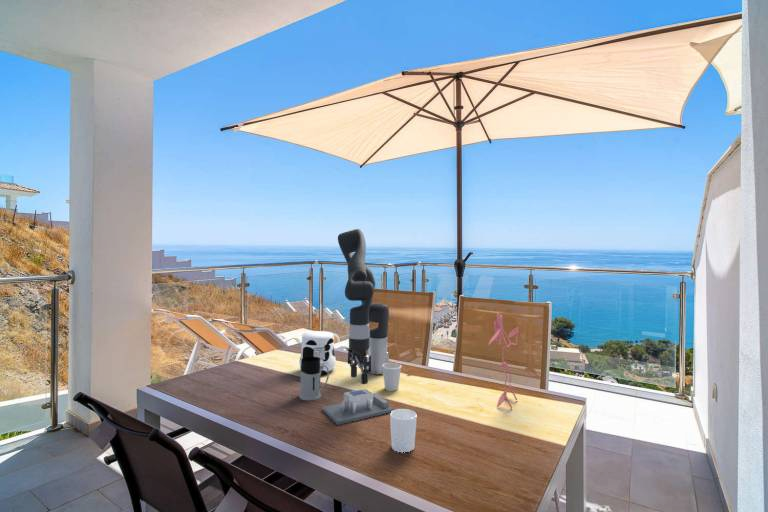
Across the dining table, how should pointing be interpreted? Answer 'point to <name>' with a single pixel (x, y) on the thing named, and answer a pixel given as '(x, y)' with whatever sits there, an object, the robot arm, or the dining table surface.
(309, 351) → the milk container
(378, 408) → the grey tapered peg board
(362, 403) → the block
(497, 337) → the figurine
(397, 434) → the white cup
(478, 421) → the dining table surface
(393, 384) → the dixie cup
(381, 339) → the robot arm
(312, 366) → the white and black mug
